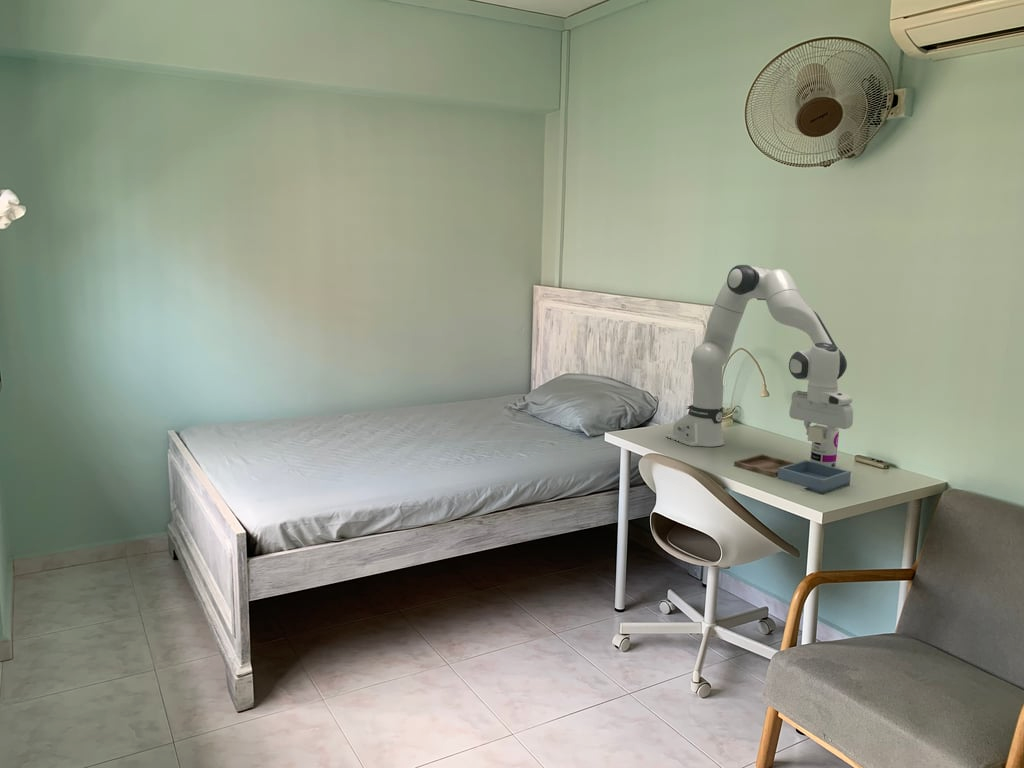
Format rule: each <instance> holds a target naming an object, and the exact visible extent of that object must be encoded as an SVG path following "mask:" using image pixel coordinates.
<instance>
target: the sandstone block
mask: <svg viewBox="0 0 1024 768" xmlns="http://www.w3.org/2000/svg"><path fill="white" fill-rule="evenodd" d="M828 430H829V429H827V427H824V426H819V425H816V424H814V425H810V427H809V430H808V435H807V441H809V442H811V443H812V442H816V443H824V442H827V441H828V440H827V439H824V438H823V437H824V433H827V432H828Z"/></svg>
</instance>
